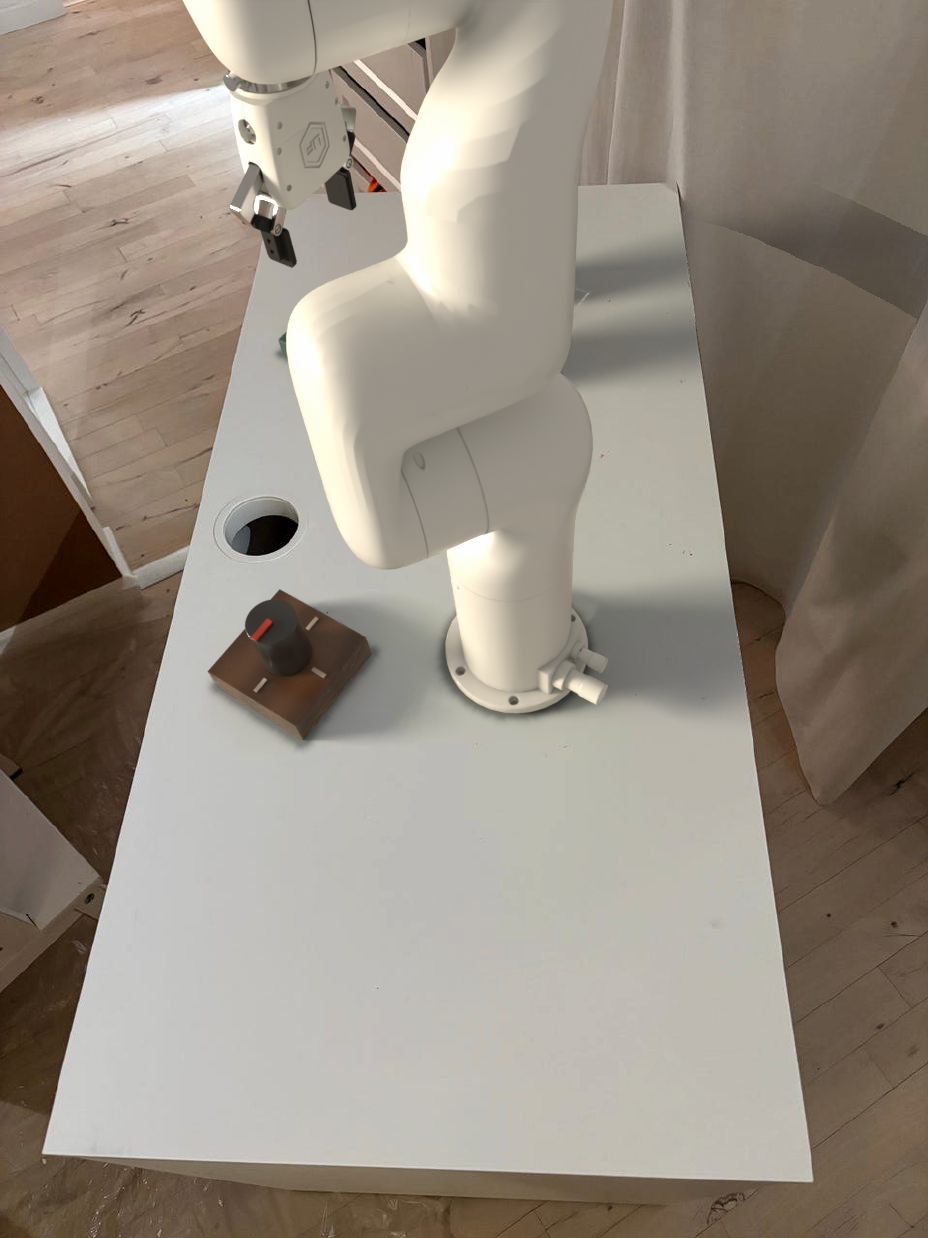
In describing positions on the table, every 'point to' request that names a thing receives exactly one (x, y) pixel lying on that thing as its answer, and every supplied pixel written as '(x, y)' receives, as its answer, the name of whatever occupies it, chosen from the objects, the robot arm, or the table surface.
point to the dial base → (304, 692)
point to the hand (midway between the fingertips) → (313, 232)
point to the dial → (278, 637)
